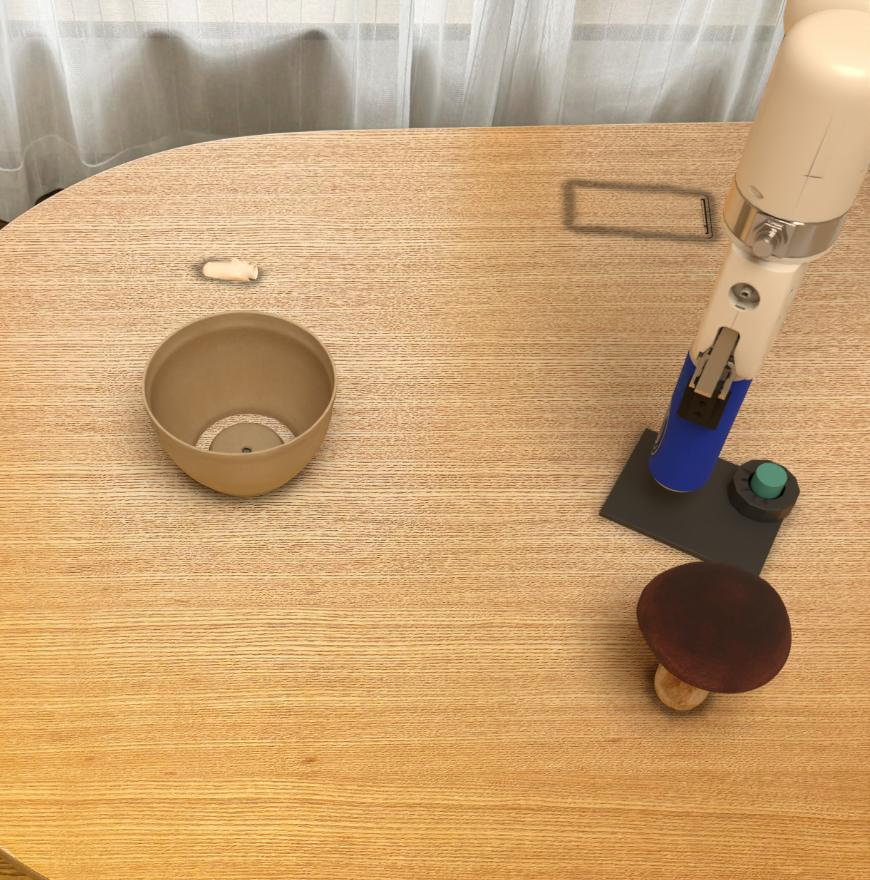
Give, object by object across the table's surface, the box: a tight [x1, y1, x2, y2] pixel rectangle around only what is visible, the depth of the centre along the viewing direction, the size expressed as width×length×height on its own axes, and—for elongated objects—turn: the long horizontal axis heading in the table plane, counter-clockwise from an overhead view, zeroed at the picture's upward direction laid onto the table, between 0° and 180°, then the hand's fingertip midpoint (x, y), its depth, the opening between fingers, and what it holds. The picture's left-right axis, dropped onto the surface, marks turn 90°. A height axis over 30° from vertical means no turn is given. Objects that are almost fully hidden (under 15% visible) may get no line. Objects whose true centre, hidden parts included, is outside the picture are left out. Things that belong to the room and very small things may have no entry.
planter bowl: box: [141, 309, 338, 498], centre depth 101 cm, size 16×16×11 cm
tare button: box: [750, 463, 787, 499], centre depth 100 cm, size 3×3×2 cm
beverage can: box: [648, 337, 754, 492], centre depth 93 cm, size 5×5×15 cm
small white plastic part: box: [202, 257, 259, 282], centre depth 118 cm, size 4×6×3 cm, turn 54°
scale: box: [598, 427, 801, 577], centre depth 102 cm, size 14×11×4 cm
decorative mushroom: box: [635, 560, 793, 711], centre depth 86 cm, size 11×11×15 cm
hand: (710, 394), depth 91 cm, fingers closed on beverage can, 5 cm apart
